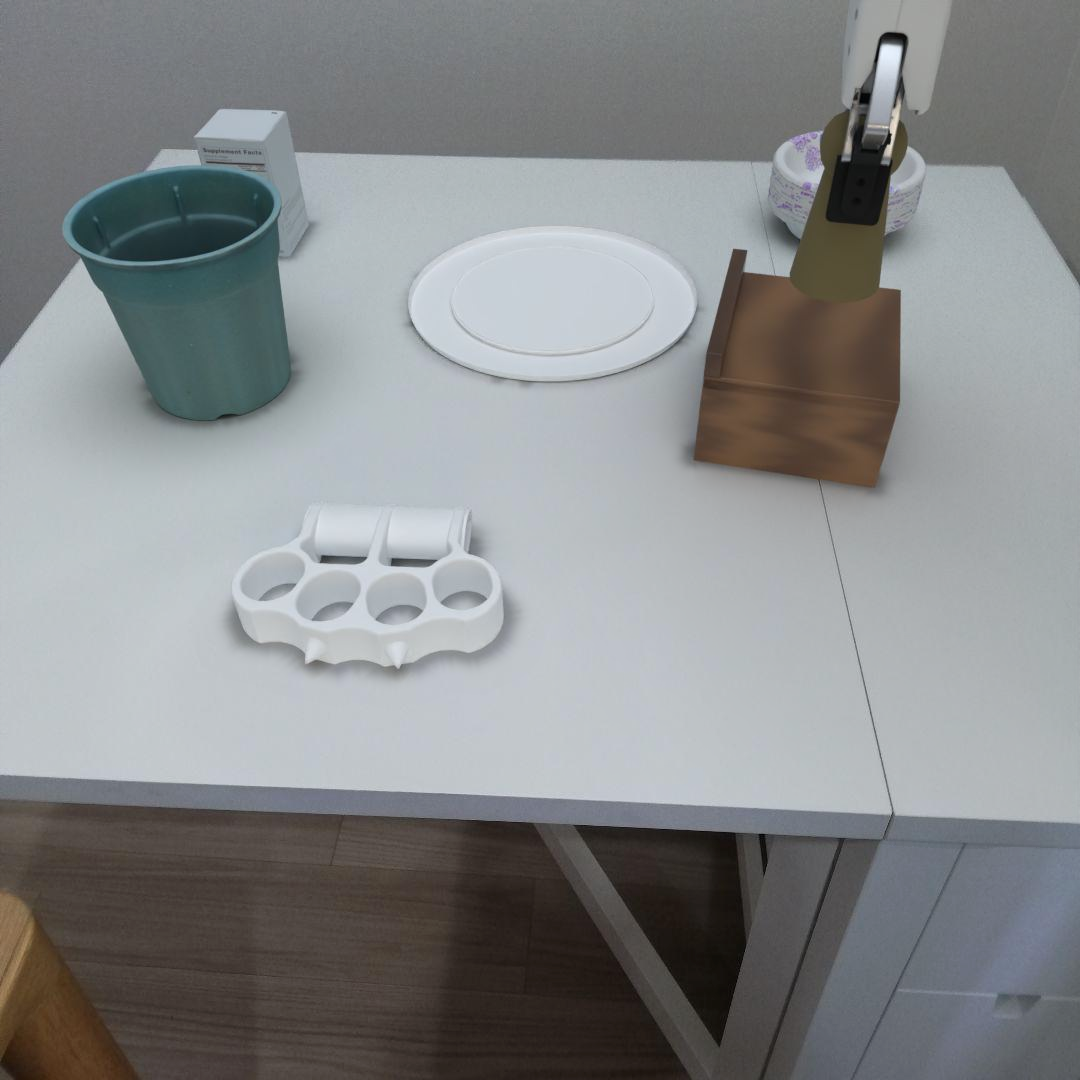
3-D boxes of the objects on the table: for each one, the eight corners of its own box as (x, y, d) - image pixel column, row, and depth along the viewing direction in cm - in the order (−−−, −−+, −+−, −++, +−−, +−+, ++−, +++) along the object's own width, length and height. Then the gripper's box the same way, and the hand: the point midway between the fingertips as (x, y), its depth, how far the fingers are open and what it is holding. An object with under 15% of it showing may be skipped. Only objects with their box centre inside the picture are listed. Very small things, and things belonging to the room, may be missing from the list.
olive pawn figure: (782, 294, 66) (812, 129, 58) (796, 252, 70) (825, 93, 62) (874, 309, 64) (917, 141, 56) (883, 265, 68) (924, 103, 61)
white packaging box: (247, 223, 108) (219, 106, 100) (311, 226, 108) (288, 109, 99) (222, 255, 103) (190, 135, 94) (290, 259, 102) (264, 138, 94)
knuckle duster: (515, 531, 72) (494, 690, 62) (278, 521, 74) (218, 676, 63) (514, 497, 70) (492, 657, 60) (268, 488, 71) (204, 643, 61)
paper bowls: (799, 274, 98) (813, 199, 93) (741, 208, 109) (751, 137, 103) (936, 254, 101) (957, 180, 95) (867, 191, 111) (883, 121, 106)
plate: (757, 307, 94) (758, 301, 93) (528, 423, 81) (528, 416, 81) (569, 207, 110) (569, 201, 109) (354, 291, 97) (353, 285, 97)
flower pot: (343, 401, 84) (310, 226, 73) (152, 463, 79) (84, 283, 68) (282, 314, 95) (245, 149, 83) (109, 363, 89) (44, 193, 78)
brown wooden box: (878, 372, 86) (907, 267, 79) (874, 489, 75) (907, 379, 68) (719, 351, 89) (733, 248, 82) (693, 461, 78) (706, 352, 71)
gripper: (1018, -96, 44) (915, 272, 56) (989, -166, 56) (909, 151, 68) (845, -102, 45) (783, 258, 58) (853, -169, 57) (800, 142, 70)
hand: (852, 197), depth 63 cm, fingers closed on olive pawn figure, 5 cm apart
